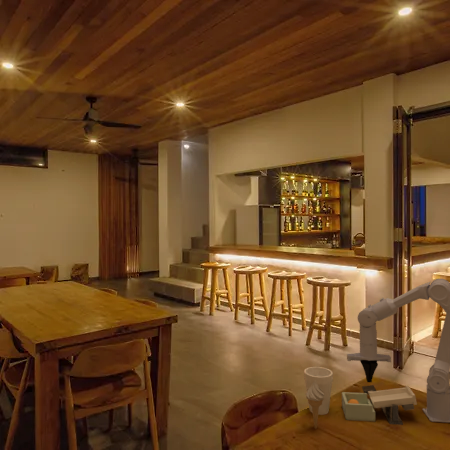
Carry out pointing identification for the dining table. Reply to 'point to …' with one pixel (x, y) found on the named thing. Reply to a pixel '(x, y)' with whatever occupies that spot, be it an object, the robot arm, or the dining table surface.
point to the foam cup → (320, 385)
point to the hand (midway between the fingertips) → (369, 381)
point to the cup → (357, 407)
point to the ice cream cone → (315, 400)
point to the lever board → (391, 397)
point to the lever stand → (392, 414)
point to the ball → (353, 401)
